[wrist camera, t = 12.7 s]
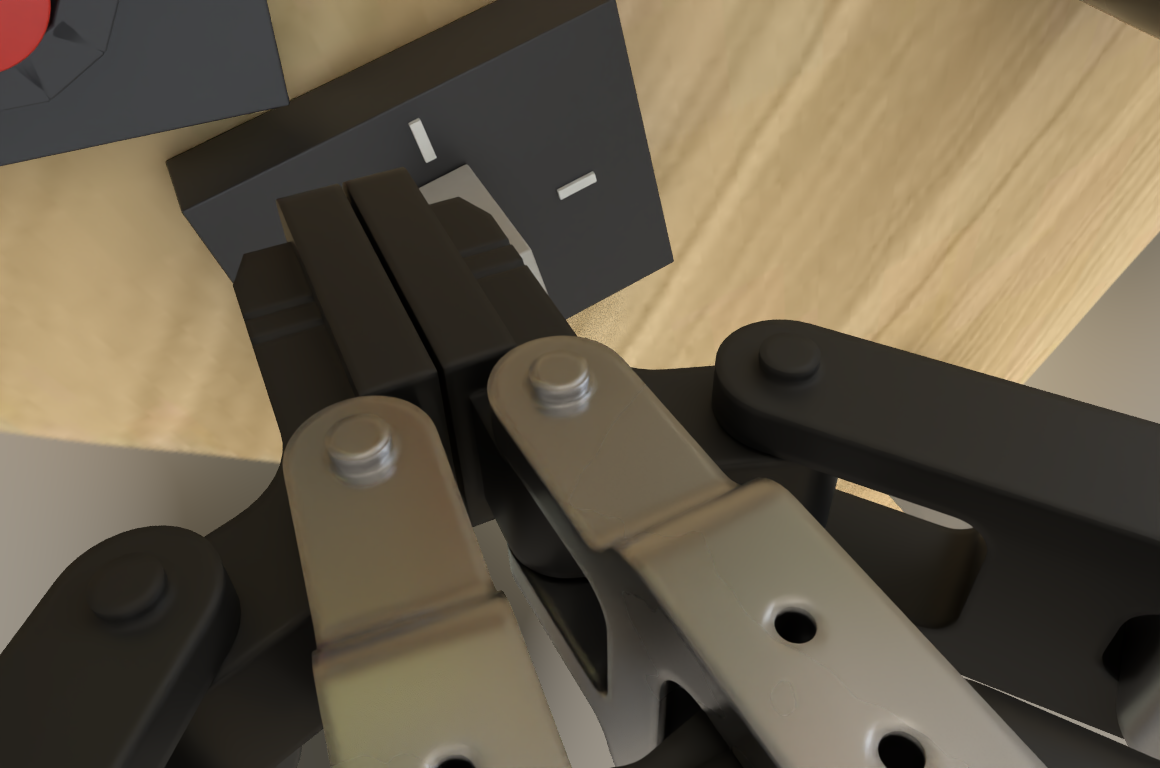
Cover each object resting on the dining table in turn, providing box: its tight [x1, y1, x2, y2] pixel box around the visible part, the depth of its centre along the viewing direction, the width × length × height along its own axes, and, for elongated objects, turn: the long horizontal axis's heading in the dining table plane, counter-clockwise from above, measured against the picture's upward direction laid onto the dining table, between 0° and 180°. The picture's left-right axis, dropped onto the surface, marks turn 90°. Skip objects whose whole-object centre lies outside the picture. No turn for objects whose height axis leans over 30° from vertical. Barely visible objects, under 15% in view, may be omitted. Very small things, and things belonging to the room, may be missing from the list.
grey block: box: [419, 164, 548, 294], centre depth 30 cm, size 6×2×5 cm, turn 14°
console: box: [166, 0, 674, 320], centre depth 33 cm, size 14×11×3 cm
